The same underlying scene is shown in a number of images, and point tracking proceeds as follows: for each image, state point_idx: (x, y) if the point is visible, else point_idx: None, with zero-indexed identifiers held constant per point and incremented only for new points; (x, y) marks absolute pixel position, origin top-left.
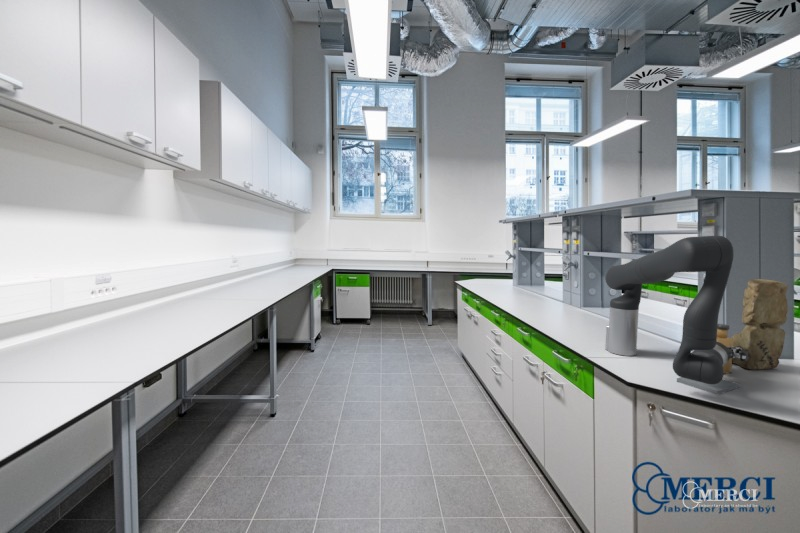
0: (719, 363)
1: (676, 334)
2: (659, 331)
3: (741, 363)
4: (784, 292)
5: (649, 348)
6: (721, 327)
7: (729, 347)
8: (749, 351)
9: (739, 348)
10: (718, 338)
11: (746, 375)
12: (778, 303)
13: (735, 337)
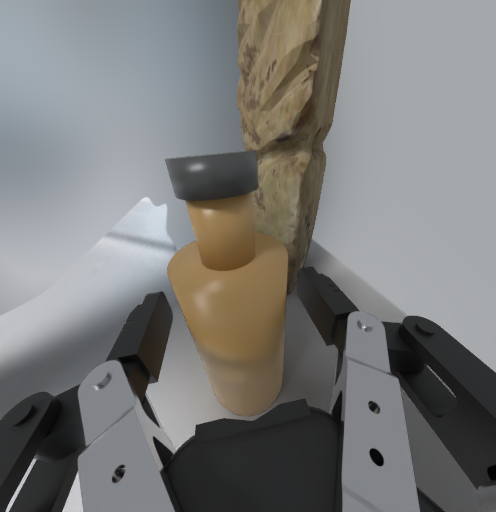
0: None
1: (146, 221)
2: (122, 224)
3: None
4: None
5: (39, 328)
6: (214, 180)
7: (413, 473)
8: (441, 335)
9: (377, 333)
10: (222, 294)
11: (319, 350)
12: (344, 24)
13: None
